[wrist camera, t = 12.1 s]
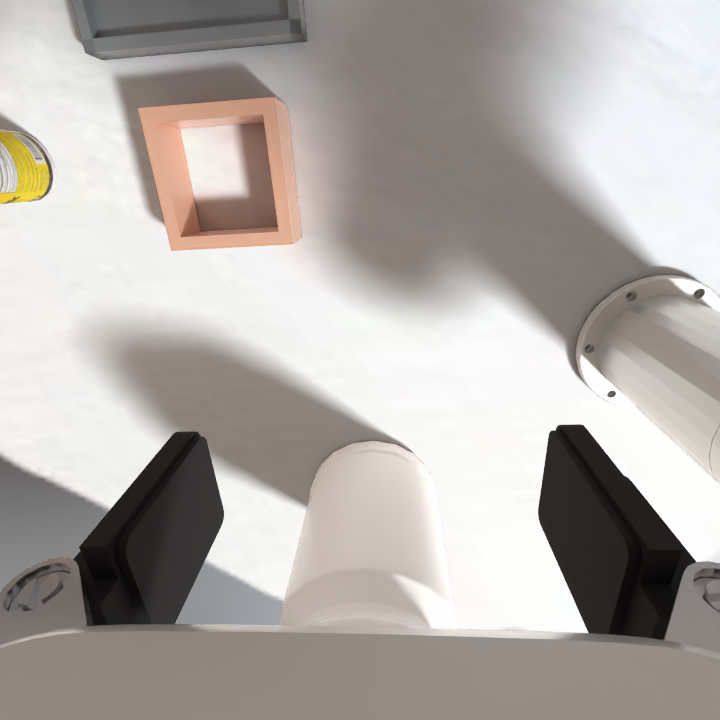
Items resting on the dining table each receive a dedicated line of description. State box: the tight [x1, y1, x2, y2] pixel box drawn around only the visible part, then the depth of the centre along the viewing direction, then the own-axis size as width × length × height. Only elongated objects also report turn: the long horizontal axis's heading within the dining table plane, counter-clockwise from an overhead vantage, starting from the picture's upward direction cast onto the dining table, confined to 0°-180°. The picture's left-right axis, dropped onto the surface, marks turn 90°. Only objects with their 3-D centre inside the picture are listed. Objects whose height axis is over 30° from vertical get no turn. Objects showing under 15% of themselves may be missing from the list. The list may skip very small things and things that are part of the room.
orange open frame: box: [138, 97, 302, 251], centre depth 33 cm, size 10×10×4 cm
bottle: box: [280, 441, 458, 629], centre depth 35 cm, size 14×14×28 cm
